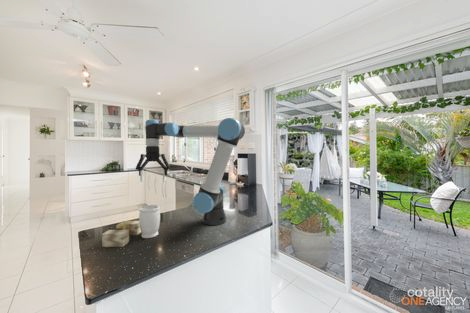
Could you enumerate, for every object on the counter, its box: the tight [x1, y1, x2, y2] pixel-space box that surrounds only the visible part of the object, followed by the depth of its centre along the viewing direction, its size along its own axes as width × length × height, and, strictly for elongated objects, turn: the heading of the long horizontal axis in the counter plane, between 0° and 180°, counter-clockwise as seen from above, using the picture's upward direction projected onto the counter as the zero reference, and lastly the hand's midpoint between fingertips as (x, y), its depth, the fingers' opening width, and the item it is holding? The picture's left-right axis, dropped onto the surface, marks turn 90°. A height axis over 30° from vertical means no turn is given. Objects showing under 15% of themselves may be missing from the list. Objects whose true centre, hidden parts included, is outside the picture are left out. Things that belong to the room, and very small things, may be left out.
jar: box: [138, 204, 161, 239], centre depth 108 cm, size 11×10×15 cm
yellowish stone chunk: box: [115, 220, 131, 238], centre depth 104 cm, size 4×6×8 cm, turn 179°
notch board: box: [101, 220, 142, 248], centre depth 104 cm, size 10×18×6 cm, turn 179°
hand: (153, 181), depth 122 cm, fingers open, 13 cm apart
